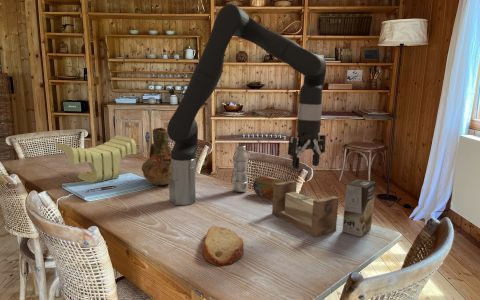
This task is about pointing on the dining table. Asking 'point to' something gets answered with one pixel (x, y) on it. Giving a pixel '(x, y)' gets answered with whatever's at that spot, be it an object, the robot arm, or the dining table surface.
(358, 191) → the coffee box
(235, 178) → the grey bottle
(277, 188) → the holder
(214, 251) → the slice of bread
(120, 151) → the yellow slatted rack
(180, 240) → the dining table surface
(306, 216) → the birch block
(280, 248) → the dining table surface
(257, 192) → the tin
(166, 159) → the ceramic vessel
